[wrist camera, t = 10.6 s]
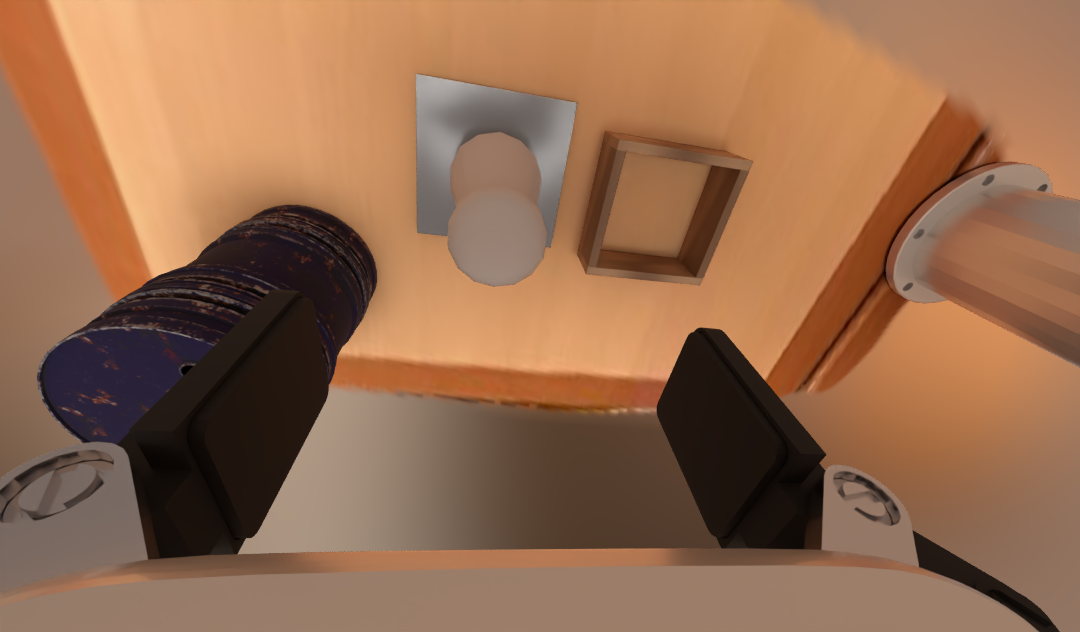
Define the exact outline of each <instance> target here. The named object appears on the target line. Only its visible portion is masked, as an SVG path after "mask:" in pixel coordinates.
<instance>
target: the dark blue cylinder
mask: <svg viewBox="0 0 1080 632" xmlns="http://www.w3.org/2000/svg"><path fill="white" fill-rule="evenodd" d="M376 283H377V270H376V265H375V261H374V259H373V256H372V254H371V252H370V250H369V248H368V247H367V245H366V244H365V242H364V241H363V240H362V238H361V237H360V236H359V235H358V234H357V233H356V232H355V231H354V230H353V229H352V228H351V227H349V226H348V225H347V224H345V223H344V222H343V221H341V220H339V219H338V218H336V217H334V216H333V215H330V214H328V213H326V212H323V211H321V210H318V209H314V208H311V207H306V206H299V205H283V206H276V207H272V208H269V209H266V210H264V211H262V212H260V213H258V214H257V215H255V216H253V217H252V218H251V219H249V220H246V221H243V222H242V223H240V224H238V225H236V226H234V227H233V228H231V229H230V230H228V231H226V232H225V233H224V234H223V235H222V236H220V237H219V238H218V239H217V240H216V241H214V242H213V243H211V244H210V245H209V246H208V247H207V248H205V249H204V250H203V251H202V253H201V254H200V255H199V257H198V258H197V259H196V260H194V261H193V262H191V263H190V264H188V265H187V266H185V267H182V268H178V269H175V270H172V271H170V272H168V273H164V274H161V275H159V276H157V277H155V278H153V279H151V280H150V281H148V282H147V283H145V284H144V285H143V286H142V287H141V288H139V289H137V290H135V291H133V292H132V293H130V294H128V295H127V296H125V297H123V298H122V299H120V300H119V301H117V302H116V303H114V304H112V305H111V306H110V307H109V308H108V309H106V310H105V311H104V312H103V313H102V314H101V315H100V316H99V317H97V318H96V319H94V320H92V321H91V322H90V323H89V324H88V325H87V326H85V327H83V328H82V329H80V330H77V331H76V332H74V333H72V334H71V335H69V336H68V337H66V338H65V339H63V340H62V341H60V342H58V343H57V344H56V345H55V346H54V347H53V348H51V349H50V350H49V351H48V352H47V353H46V355H45V356H44V358H43V359H42V361H41V363H40V365H39V370H38V374H37V381H38V389H39V392H40V395H41V398H42V400H43V402H44V404H45V405H46V407H47V409H48V410H49V412H50V413H51V415H52V416H53V417H54V418H55V419H56V420H57V421H58V422H59V424H60V425H61V426H62V427H63V428H64V429H66V430H67V431H68V432H69V433H70V434H72V435H73V436H74V437H75V438H76V439H78V440H80V441H81V442H83V443H90V442H105V443H113V444H115V445H117V444H118V443H119V442H120V441H121V440H122V439H123V438H124V437H125V436H126V435H127V434H128V433H129V432H130V431H129V429H130V428H131V427H132V426H133V425H134V424H135V423H136V422H137V421H138V420H139V419H140V418H141V417H142V416H143V415H144V414H145V413H146V412H147V411H148V410H149V409H150V408H151V407H153V406H154V405H155V404H156V403H157V402H158V401H159V400H160V399H161V398H162V397H163V396H164V395H165V394H166V393H167V392H168V391H169V390H170V389H171V388H172V387H173V386H174V385H175V384H176V383H177V382H178V381H179V380H180V379H181V378H182V377H183V376H184V375H185V374H186V373H187V372H188V371H189V370H190V369H191V368H192V367H193V366H194V365H195V364H196V363H197V362H198V361H199V360H200V359H201V358H202V357H203V356H204V355H205V354H206V353H207V352H209V351H210V350H211V349H212V348H213V347H214V346H215V345H216V344H217V343H218V342H219V341H220V340H221V339H222V338H223V337H224V336H225V335H226V334H227V333H228V332H229V331H230V330H231V329H232V328H233V327H234V326H235V325H236V324H237V323H238V322H239V321H240V320H241V319H242V318H243V317H244V316H245V315H246V314H247V313H248V312H249V311H250V310H251V309H252V308H253V307H254V306H255V305H256V304H257V303H258V302H259V301H260V300H261V299H262V298H263V297H265V296H266V295H267V294H268V293H269V292H270V291H271V290H274V289H277V290H288V291H299V292H303V293H304V295H305V296H306V298H307V299H312V300H313V302H314V306H315V311H316V317H317V323H318V328H319V334H320V340H321V345H322V351H323V357H324V363H325V368H326V374H327V380H328V385H329V384H330V382H331V380H332V377H333V375H334V371H335V366H336V361H337V356H338V354H339V352H340V350H341V348H342V347H343V346H344V345H345V344H346V343H347V342H348V341H349V339H350V338H351V336H352V335H353V333H354V331H355V329H356V328H357V327H358V325H359V324H360V322H361V321H362V319H363V317H364V315H365V313H366V310H367V308H368V305H369V301H370V299H371V298H372V296H373V293H374V291H375V288H376Z"/></svg>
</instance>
